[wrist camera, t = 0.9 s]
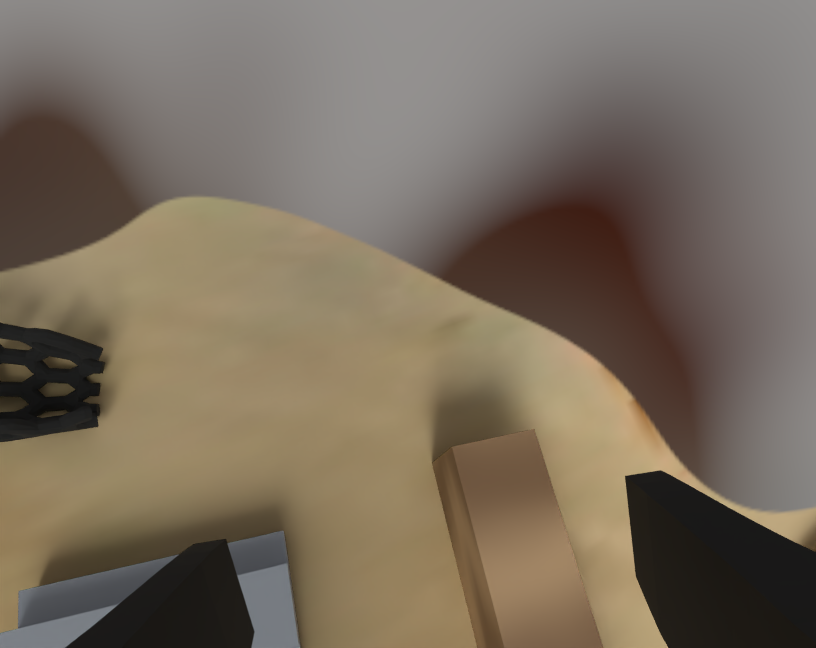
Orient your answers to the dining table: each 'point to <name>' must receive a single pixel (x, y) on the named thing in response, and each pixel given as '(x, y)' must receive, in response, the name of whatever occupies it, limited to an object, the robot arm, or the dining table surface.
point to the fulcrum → (100, 593)
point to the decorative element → (43, 346)
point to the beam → (513, 546)
